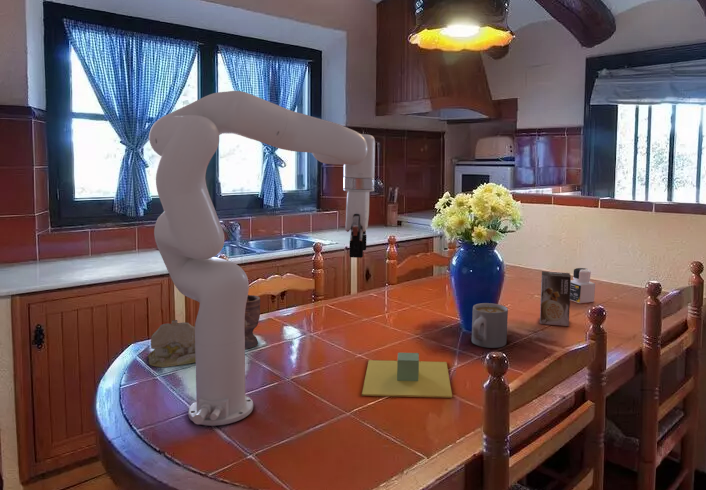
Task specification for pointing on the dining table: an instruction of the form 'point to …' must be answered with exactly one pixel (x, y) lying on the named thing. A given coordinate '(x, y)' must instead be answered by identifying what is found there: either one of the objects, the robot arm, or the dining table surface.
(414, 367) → the toy block
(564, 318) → the coffee box
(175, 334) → the ceramic model
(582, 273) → the medicine bottle
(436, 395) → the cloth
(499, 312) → the coffee mug
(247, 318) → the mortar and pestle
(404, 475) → the dining table surface
